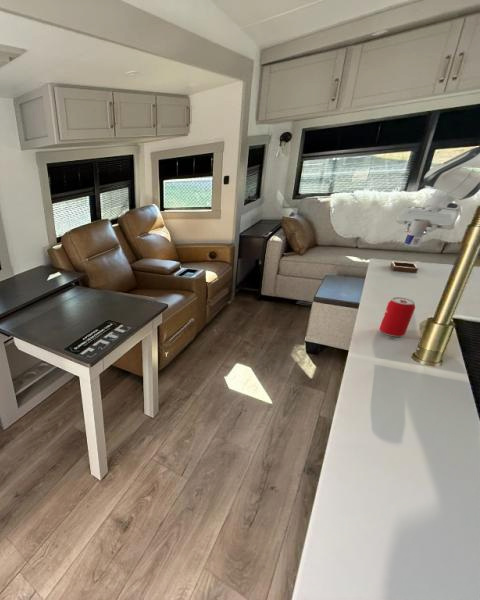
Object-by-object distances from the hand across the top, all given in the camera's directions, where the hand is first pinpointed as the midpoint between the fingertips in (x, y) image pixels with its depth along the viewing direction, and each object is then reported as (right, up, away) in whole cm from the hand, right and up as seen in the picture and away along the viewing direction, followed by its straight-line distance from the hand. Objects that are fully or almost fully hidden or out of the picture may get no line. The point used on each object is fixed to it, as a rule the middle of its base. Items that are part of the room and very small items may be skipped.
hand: (415, 232), depth 145 cm
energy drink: (+1, -6, +3) cm, 7 cm away
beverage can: (-51, -42, -40) cm, 77 cm away
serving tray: (+2, -16, +8) cm, 18 cm away
